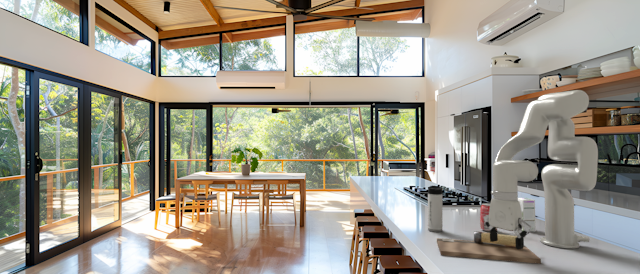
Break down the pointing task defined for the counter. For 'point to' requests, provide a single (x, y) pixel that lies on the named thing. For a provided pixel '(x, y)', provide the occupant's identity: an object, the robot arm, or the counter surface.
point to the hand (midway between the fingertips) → (506, 244)
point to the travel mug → (435, 209)
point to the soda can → (484, 212)
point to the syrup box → (528, 212)
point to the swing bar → (502, 239)
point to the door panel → (485, 251)
